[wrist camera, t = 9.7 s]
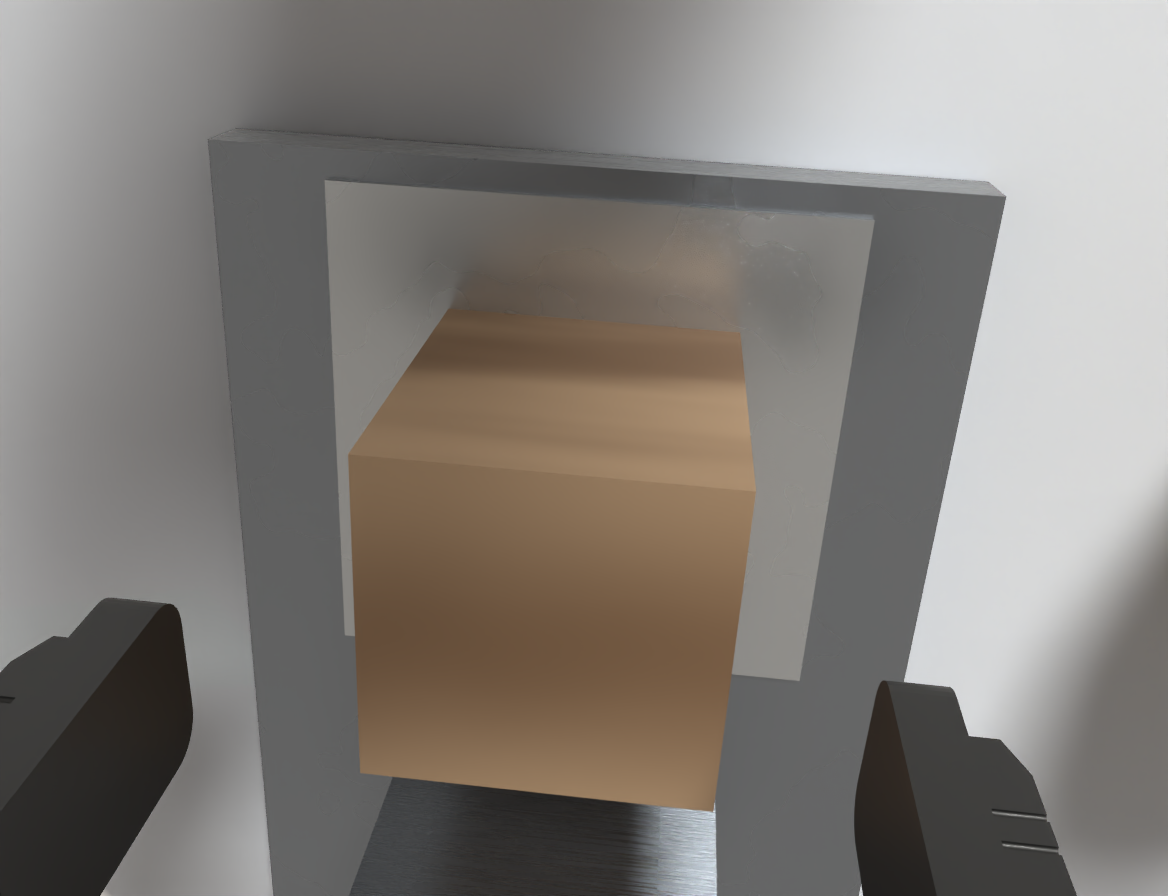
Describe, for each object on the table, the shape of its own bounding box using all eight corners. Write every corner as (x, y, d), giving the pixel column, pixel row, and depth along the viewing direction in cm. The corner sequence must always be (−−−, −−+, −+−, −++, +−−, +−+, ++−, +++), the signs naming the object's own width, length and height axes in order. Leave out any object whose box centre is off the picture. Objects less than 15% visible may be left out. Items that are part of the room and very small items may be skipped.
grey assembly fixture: (235, 128, 20) (-112, 267, 11) (988, 181, 19) (1219, 374, 10) (293, 888, 27) (111, 1308, 19) (832, 950, 26) (892, 1419, 18)
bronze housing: (448, 308, 19) (347, 454, 14) (740, 332, 19) (756, 491, 13) (447, 560, 21) (360, 772, 16) (710, 585, 21) (713, 812, 15)
